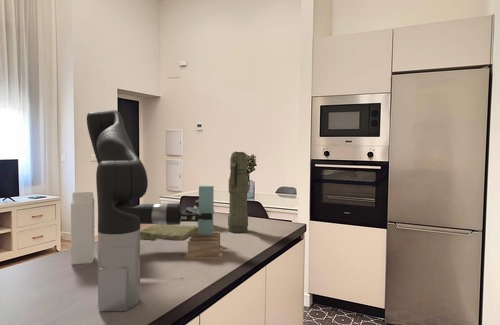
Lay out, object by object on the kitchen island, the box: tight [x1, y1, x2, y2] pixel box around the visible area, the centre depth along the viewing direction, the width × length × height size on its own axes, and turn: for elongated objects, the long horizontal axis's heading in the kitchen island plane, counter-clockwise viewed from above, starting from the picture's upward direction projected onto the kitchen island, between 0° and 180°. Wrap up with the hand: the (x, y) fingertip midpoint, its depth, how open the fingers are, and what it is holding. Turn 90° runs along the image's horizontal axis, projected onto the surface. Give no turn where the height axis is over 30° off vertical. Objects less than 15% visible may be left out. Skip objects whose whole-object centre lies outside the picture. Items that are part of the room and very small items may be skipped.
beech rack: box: [184, 231, 224, 260], centre depth 118 cm, size 16×12×6 cm
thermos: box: [227, 151, 249, 234], centre depth 151 cm, size 9×12×35 cm
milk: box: [70, 191, 96, 266], centre depth 108 cm, size 6×6×22 cm
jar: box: [193, 199, 199, 228], centre depth 160 cm, size 9×8×12 cm
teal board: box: [198, 185, 215, 235], centre depth 121 cm, size 2×5×22 cm, turn 93°
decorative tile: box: [140, 224, 199, 241], centre depth 142 cm, size 19×20×4 cm
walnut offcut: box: [193, 236, 217, 238], centre depth 118 cm, size 2×8×5 cm, turn 93°
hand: (212, 214), depth 121 cm, fingers open, 8 cm apart
